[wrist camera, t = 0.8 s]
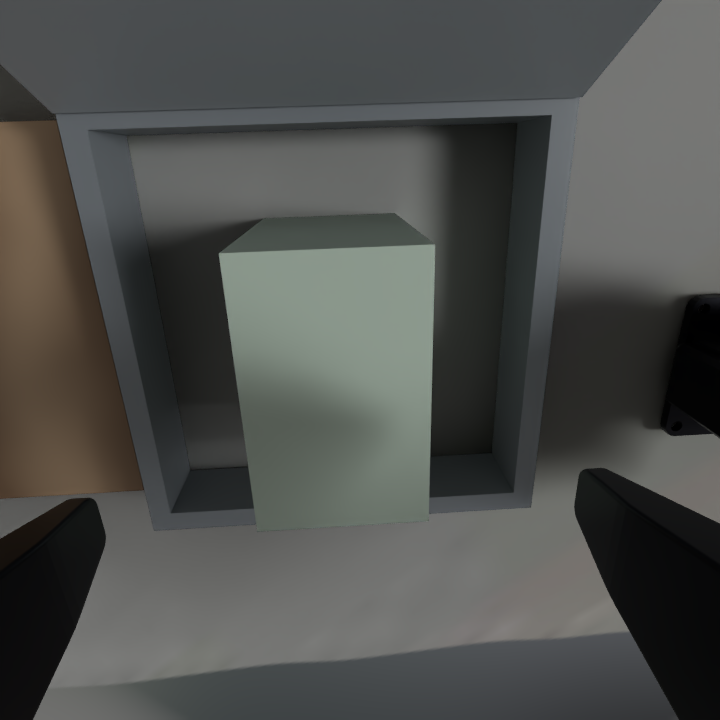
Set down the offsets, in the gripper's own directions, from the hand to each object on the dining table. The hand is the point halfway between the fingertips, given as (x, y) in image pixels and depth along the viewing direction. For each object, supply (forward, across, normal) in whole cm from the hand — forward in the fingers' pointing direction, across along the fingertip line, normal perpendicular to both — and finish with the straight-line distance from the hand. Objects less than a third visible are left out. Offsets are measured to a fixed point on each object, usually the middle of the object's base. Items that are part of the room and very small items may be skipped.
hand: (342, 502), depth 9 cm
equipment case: (+12, 0, -4) cm, 12 cm away
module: (+12, 0, 0) cm, 12 cm away
